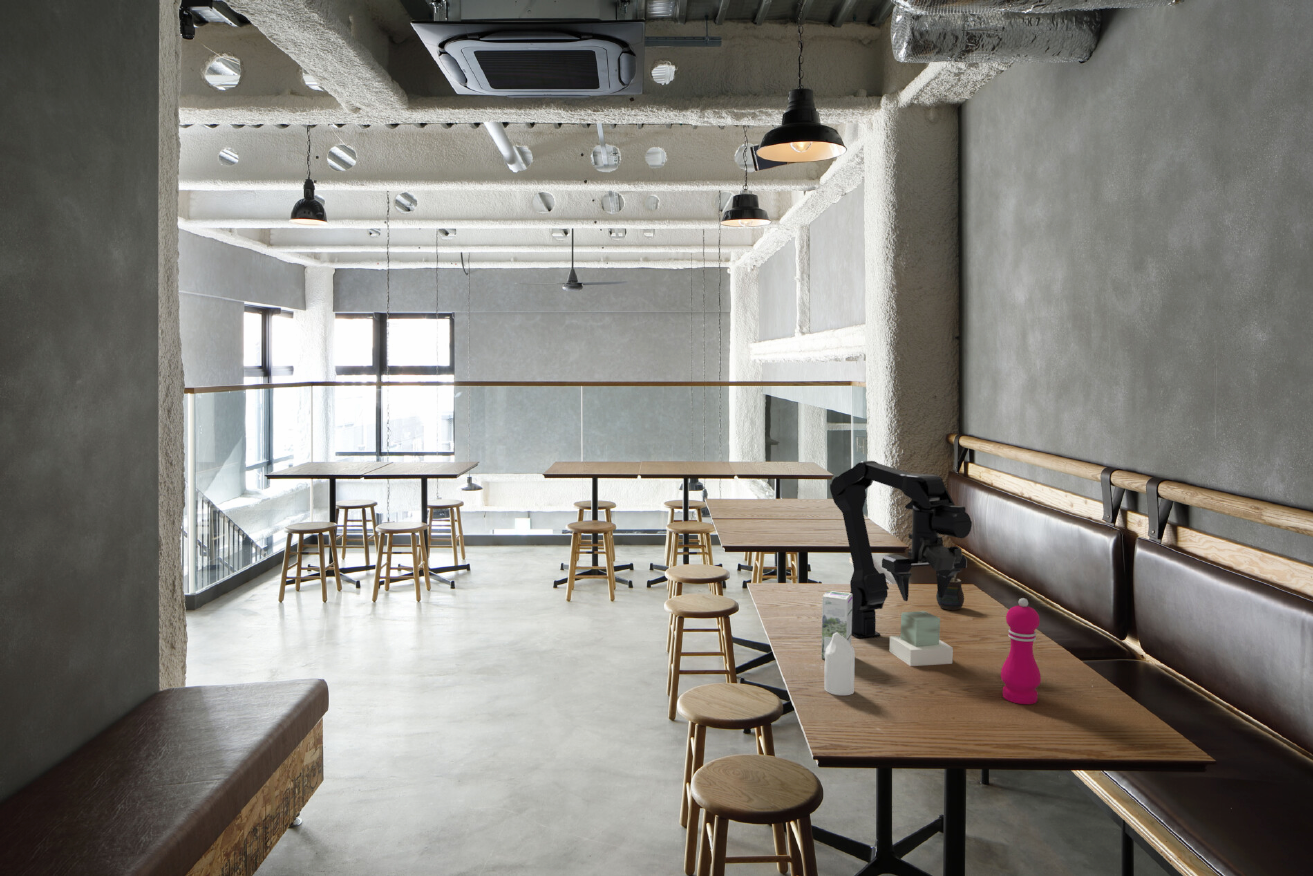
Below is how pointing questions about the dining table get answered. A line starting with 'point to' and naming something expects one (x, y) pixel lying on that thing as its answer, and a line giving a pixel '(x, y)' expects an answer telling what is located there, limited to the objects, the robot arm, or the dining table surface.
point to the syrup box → (836, 617)
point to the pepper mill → (1021, 656)
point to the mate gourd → (952, 596)
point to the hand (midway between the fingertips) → (923, 599)
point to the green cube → (920, 628)
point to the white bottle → (839, 666)
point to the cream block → (921, 652)
